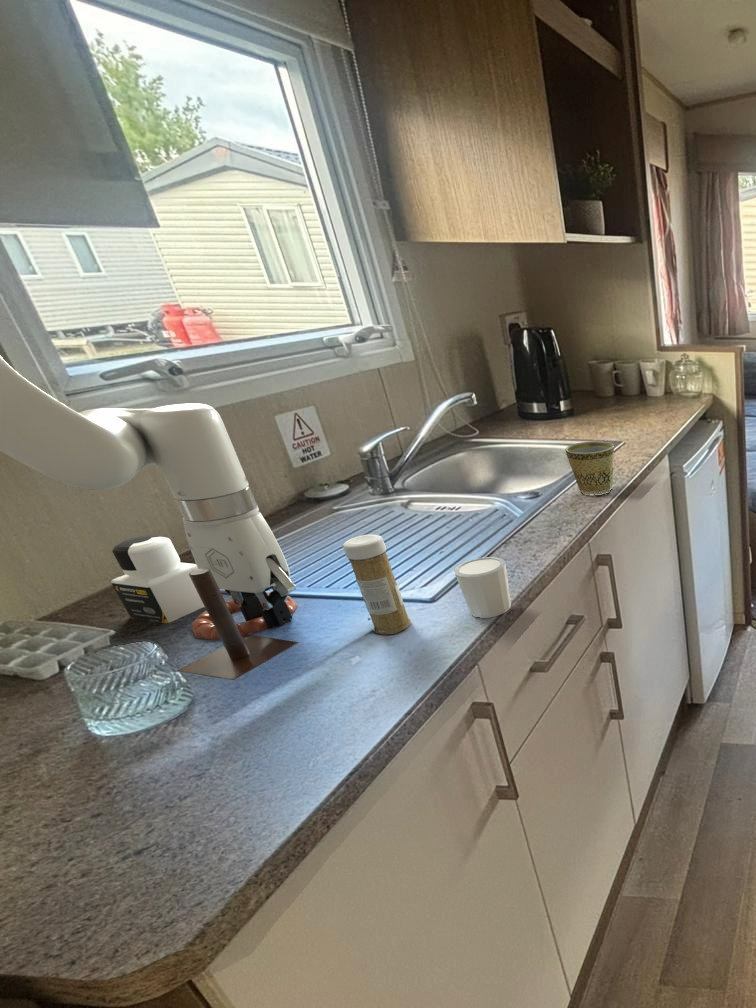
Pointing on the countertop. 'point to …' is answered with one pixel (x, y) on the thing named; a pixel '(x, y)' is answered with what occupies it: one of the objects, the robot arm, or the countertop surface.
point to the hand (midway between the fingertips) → (272, 627)
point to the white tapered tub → (484, 586)
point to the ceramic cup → (592, 466)
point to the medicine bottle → (154, 580)
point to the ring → (207, 630)
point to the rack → (229, 637)
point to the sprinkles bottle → (377, 583)
